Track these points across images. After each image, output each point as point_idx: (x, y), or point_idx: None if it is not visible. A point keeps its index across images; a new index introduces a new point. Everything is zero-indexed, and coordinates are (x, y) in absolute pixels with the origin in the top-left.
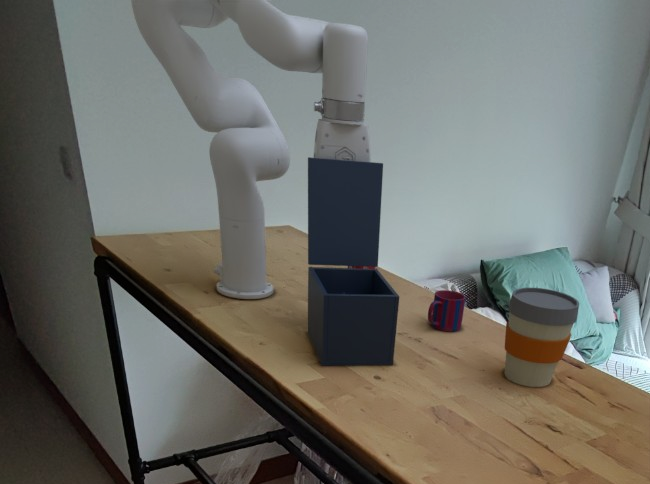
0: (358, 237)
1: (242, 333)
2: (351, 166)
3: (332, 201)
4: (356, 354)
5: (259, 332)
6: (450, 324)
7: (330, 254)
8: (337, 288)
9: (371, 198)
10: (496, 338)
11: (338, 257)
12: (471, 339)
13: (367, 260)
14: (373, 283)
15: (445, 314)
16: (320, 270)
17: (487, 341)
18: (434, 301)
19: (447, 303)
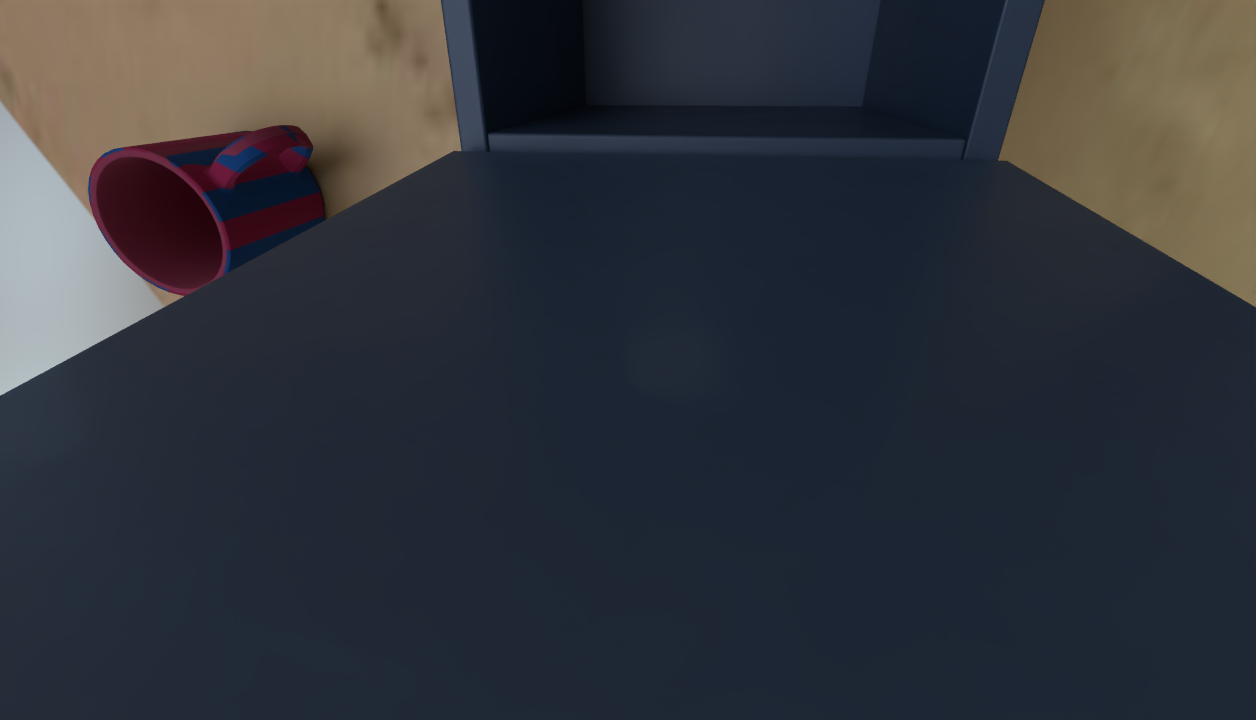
0: (547, 221)
1: (1207, 119)
2: None
3: (977, 489)
4: None
5: (1110, 133)
6: (230, 134)
7: (832, 179)
8: (752, 123)
9: (70, 478)
10: (68, 53)
11: (756, 172)
12: (164, 39)
13: (515, 163)
14: (516, 116)
15: (224, 148)
16: (901, 135)
17: (99, 13)
18: (235, 163)
19: (179, 155)
